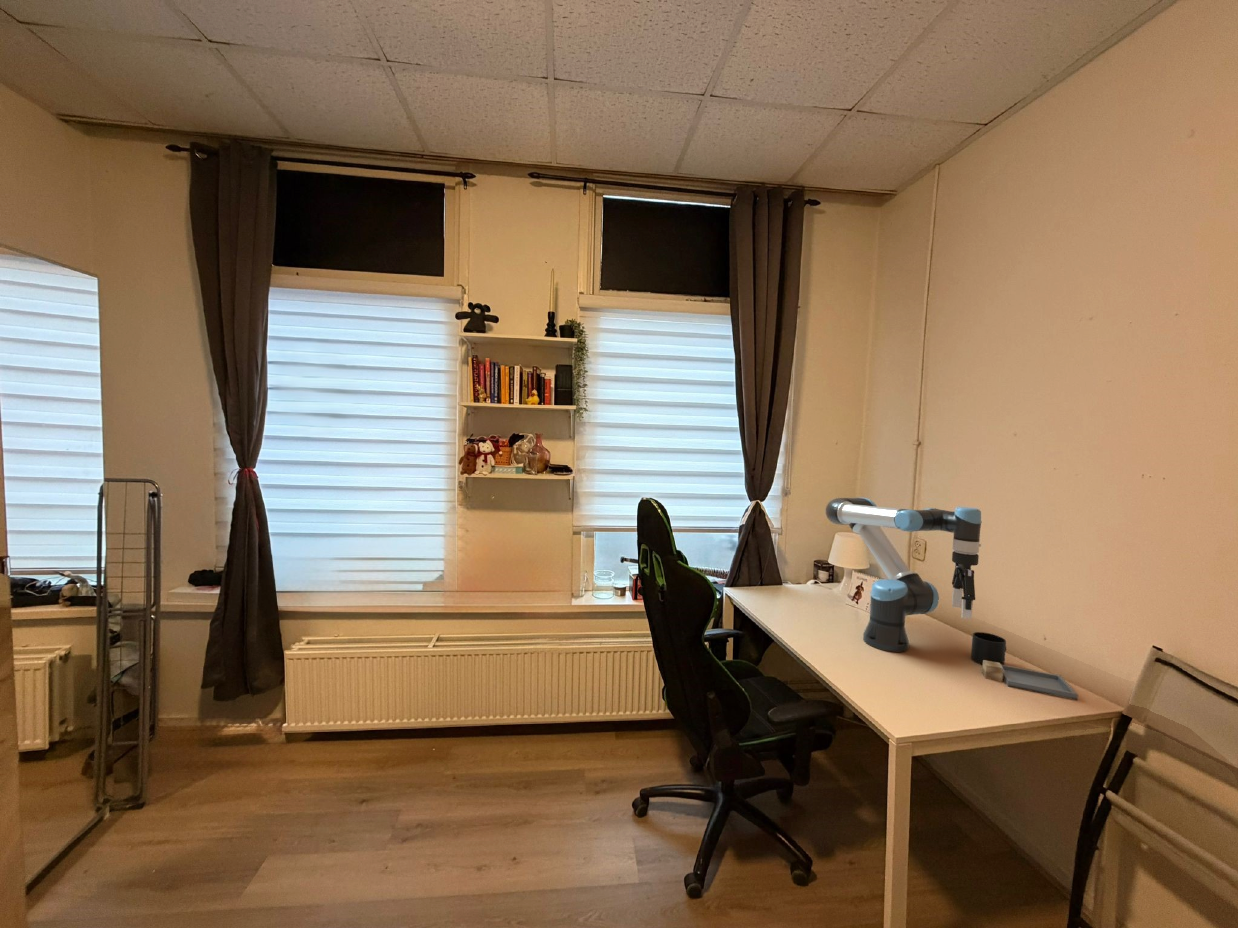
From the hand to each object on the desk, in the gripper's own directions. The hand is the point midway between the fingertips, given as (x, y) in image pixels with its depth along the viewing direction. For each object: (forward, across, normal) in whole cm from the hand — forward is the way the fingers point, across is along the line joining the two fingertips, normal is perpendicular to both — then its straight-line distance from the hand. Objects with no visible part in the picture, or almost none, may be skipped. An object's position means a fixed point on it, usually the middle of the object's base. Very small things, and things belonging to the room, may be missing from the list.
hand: (961, 612), depth 175 cm
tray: (+18, -8, -19) cm, 27 cm away
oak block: (+18, -8, -8) cm, 21 cm away
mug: (+18, +6, -11) cm, 22 cm away
